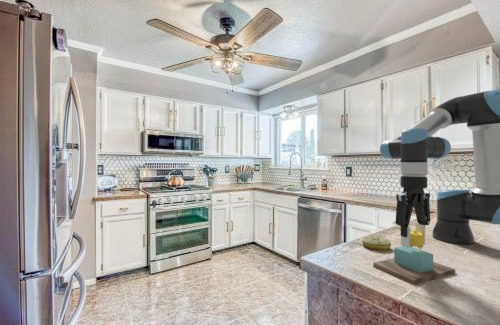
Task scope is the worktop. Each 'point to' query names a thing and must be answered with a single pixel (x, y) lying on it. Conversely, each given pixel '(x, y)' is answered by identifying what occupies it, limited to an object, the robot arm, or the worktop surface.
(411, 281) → the walnut board
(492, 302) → the worktop surface
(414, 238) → the teapot
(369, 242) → the decorated donut
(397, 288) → the worktop surface
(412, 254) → the base brick
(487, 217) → the robot arm
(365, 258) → the worktop surface
